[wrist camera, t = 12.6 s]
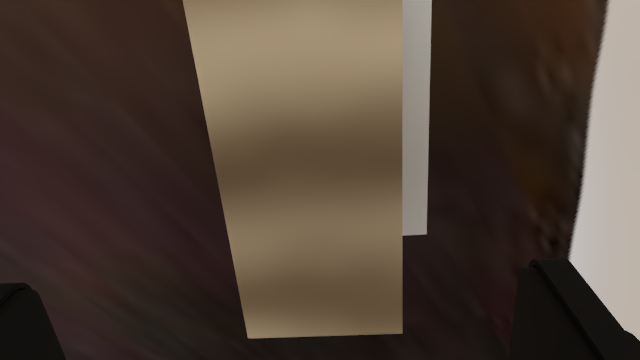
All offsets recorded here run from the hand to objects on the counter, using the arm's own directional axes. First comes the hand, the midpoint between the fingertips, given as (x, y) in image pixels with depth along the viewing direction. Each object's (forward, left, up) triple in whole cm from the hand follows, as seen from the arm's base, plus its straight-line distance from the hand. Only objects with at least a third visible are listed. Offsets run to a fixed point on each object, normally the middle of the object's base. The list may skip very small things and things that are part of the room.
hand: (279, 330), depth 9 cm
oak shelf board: (0, 0, -12) cm, 12 cm away
